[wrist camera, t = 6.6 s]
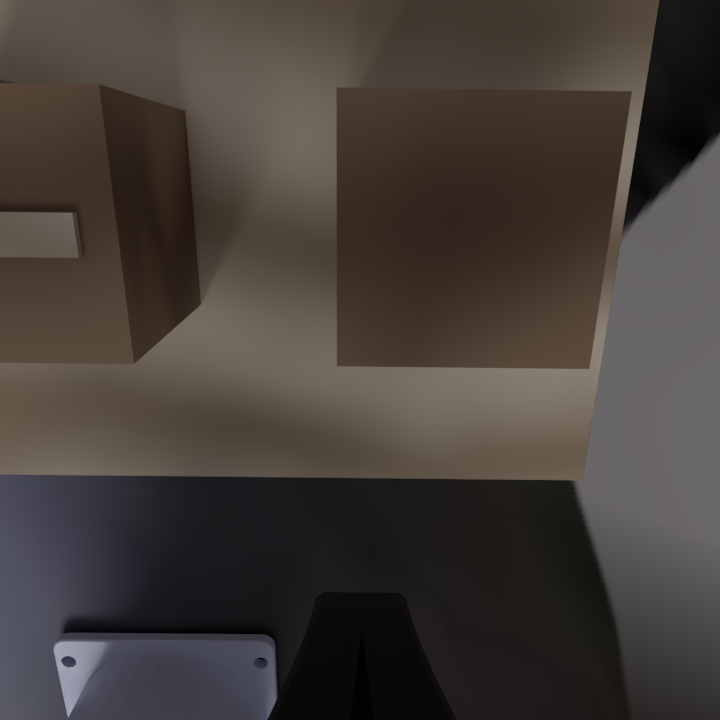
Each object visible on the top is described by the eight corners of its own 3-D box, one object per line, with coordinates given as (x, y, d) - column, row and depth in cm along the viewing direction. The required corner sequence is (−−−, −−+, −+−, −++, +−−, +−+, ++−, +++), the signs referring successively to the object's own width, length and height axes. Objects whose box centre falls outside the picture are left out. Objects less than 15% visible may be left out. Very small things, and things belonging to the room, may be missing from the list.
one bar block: (201, 304, 16) (130, 366, 11) (22, 302, 16) (-127, 364, 11) (184, 104, 14) (94, 72, 9) (-16, 101, 14) (-211, 69, 9)
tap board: (571, 464, 19) (582, 480, 18) (-282, 455, 19) (-317, 471, 18) (661, -131, 13) (683, -154, 13) (-526, -150, 13) (-594, -174, 12)
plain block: (521, 308, 16) (589, 369, 11) (343, 306, 16) (337, 366, 11) (542, 115, 14) (632, 90, 10) (344, 112, 14) (336, 87, 10)
